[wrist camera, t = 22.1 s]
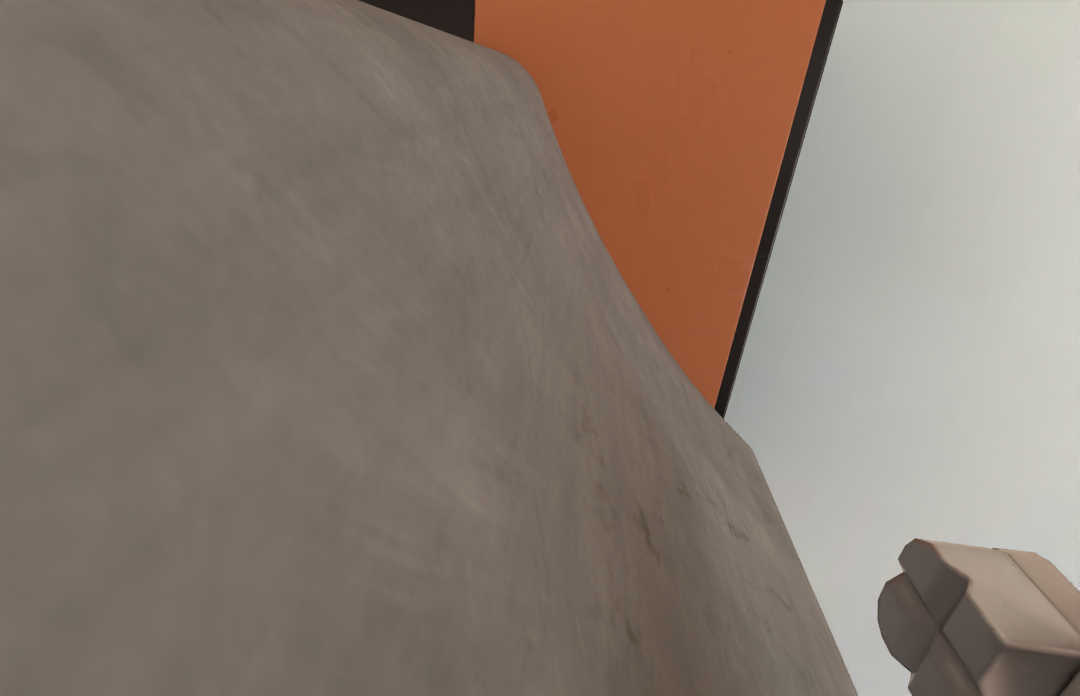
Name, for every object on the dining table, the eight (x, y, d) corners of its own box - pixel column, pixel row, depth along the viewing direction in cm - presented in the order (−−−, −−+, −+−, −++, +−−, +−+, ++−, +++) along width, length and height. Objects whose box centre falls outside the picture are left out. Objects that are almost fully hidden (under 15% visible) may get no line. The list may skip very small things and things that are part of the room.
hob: (801, 14, 15) (848, -3, 12) (682, 472, 22) (694, 528, 19) (151, -49, 16) (55, -78, 13) (234, 412, 23) (183, 458, 20)
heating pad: (823, -4, 13) (828, -6, 12) (680, 523, 20) (681, 529, 19) (478, -37, 13) (476, -40, 13) (459, 493, 20) (457, 499, 20)
